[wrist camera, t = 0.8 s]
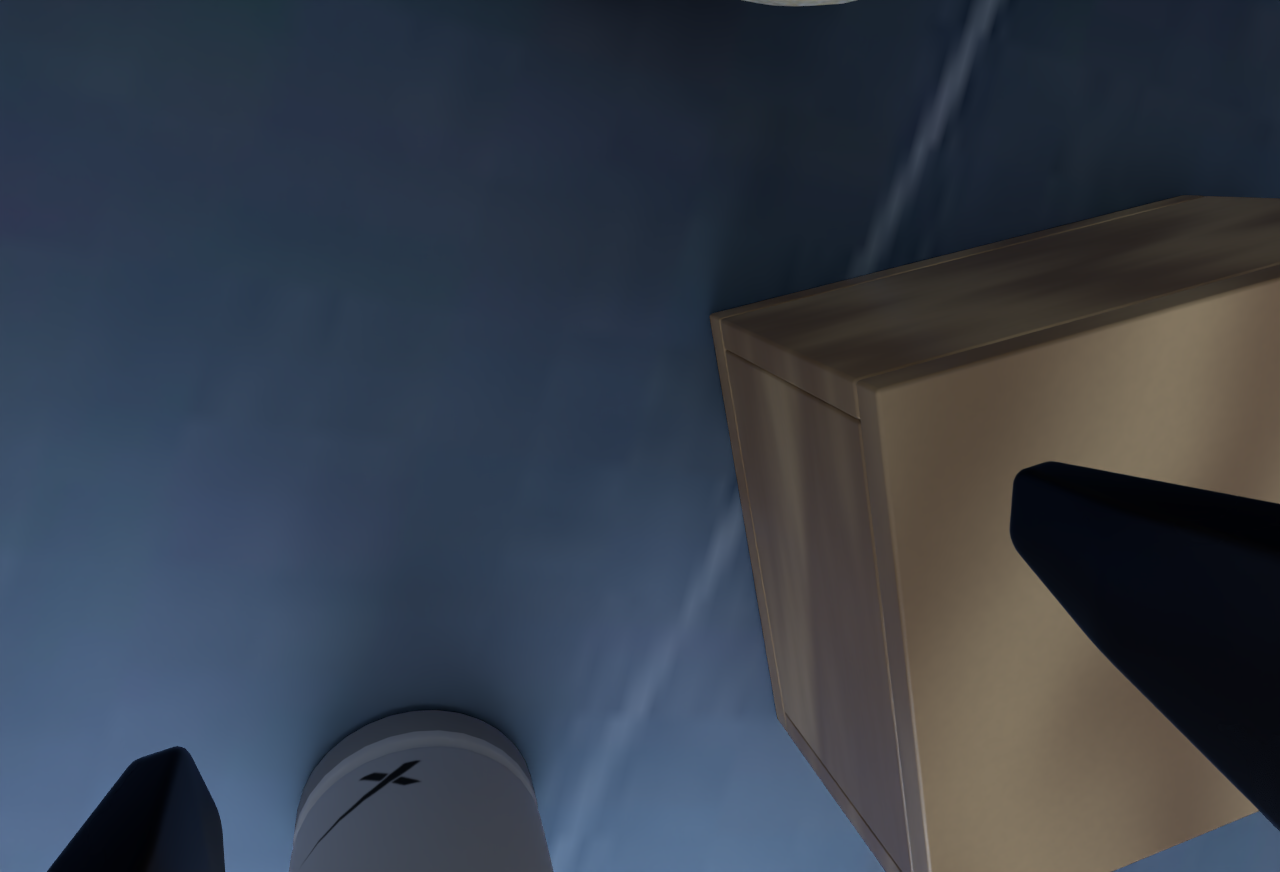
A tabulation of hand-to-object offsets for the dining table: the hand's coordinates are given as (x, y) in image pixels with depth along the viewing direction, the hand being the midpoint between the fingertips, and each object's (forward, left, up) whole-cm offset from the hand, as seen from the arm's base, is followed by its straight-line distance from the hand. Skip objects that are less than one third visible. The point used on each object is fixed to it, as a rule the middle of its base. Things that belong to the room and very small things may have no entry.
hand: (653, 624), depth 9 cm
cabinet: (-6, -13, -14) cm, 20 cm away
